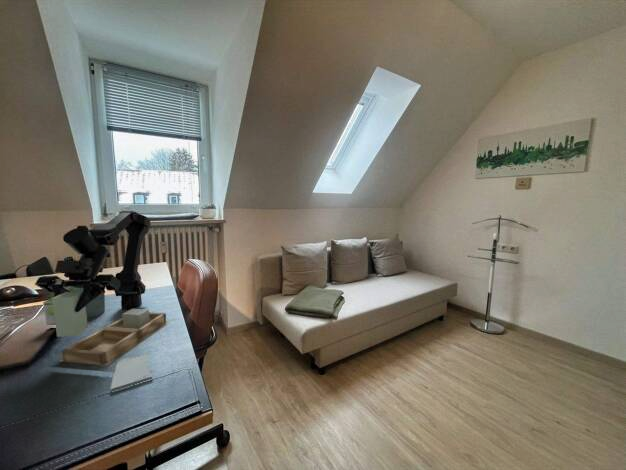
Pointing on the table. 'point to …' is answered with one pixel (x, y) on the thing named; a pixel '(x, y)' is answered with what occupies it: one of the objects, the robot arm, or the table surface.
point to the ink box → (51, 309)
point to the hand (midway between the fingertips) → (66, 311)
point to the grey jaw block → (135, 318)
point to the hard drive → (130, 372)
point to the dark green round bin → (93, 304)
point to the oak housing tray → (111, 341)
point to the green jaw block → (69, 314)
